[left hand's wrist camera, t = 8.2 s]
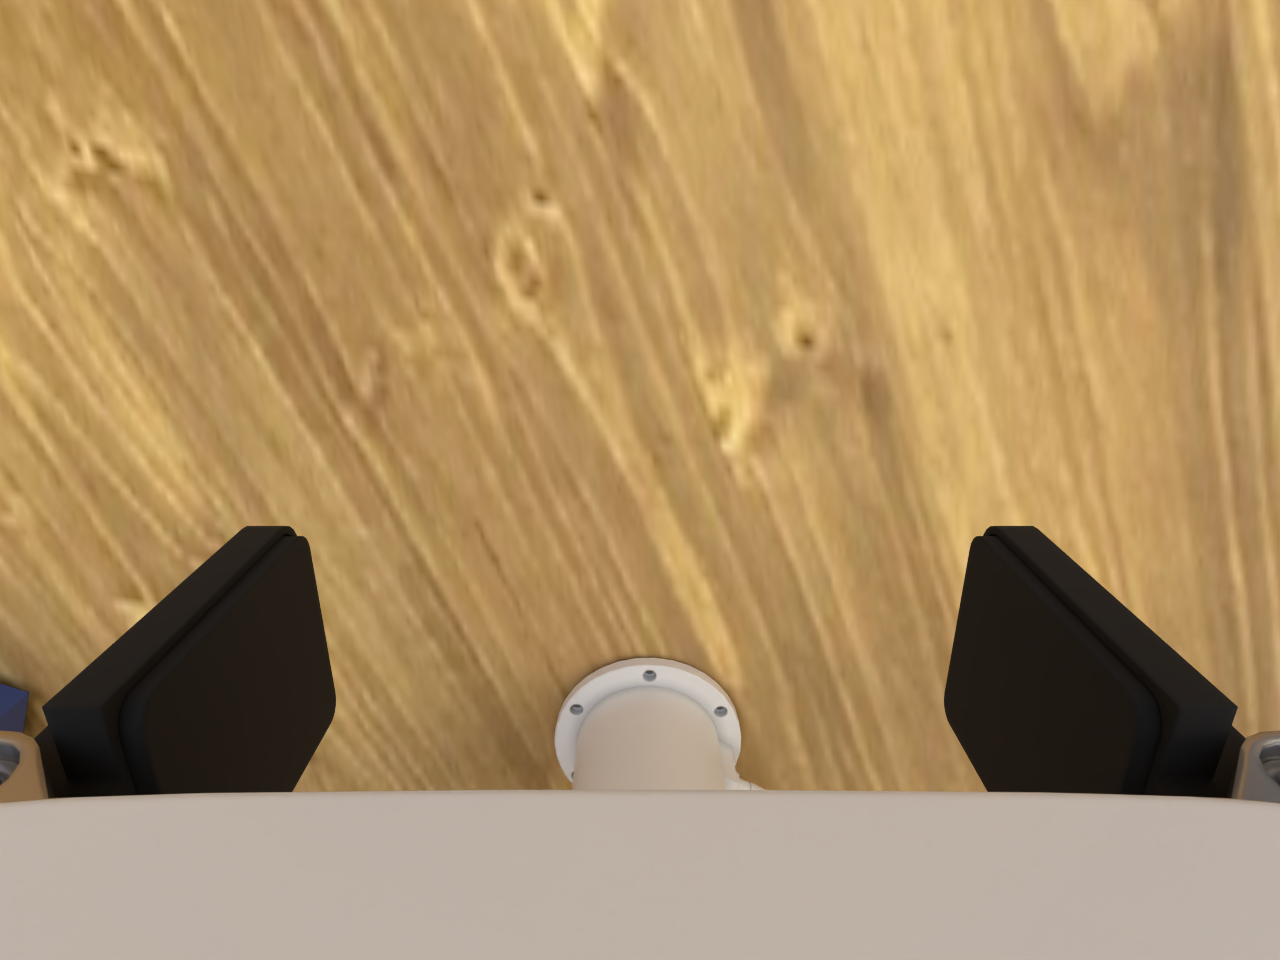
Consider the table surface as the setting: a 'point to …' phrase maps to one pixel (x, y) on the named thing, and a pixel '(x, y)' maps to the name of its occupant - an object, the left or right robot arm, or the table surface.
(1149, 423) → the table surface
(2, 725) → the block
